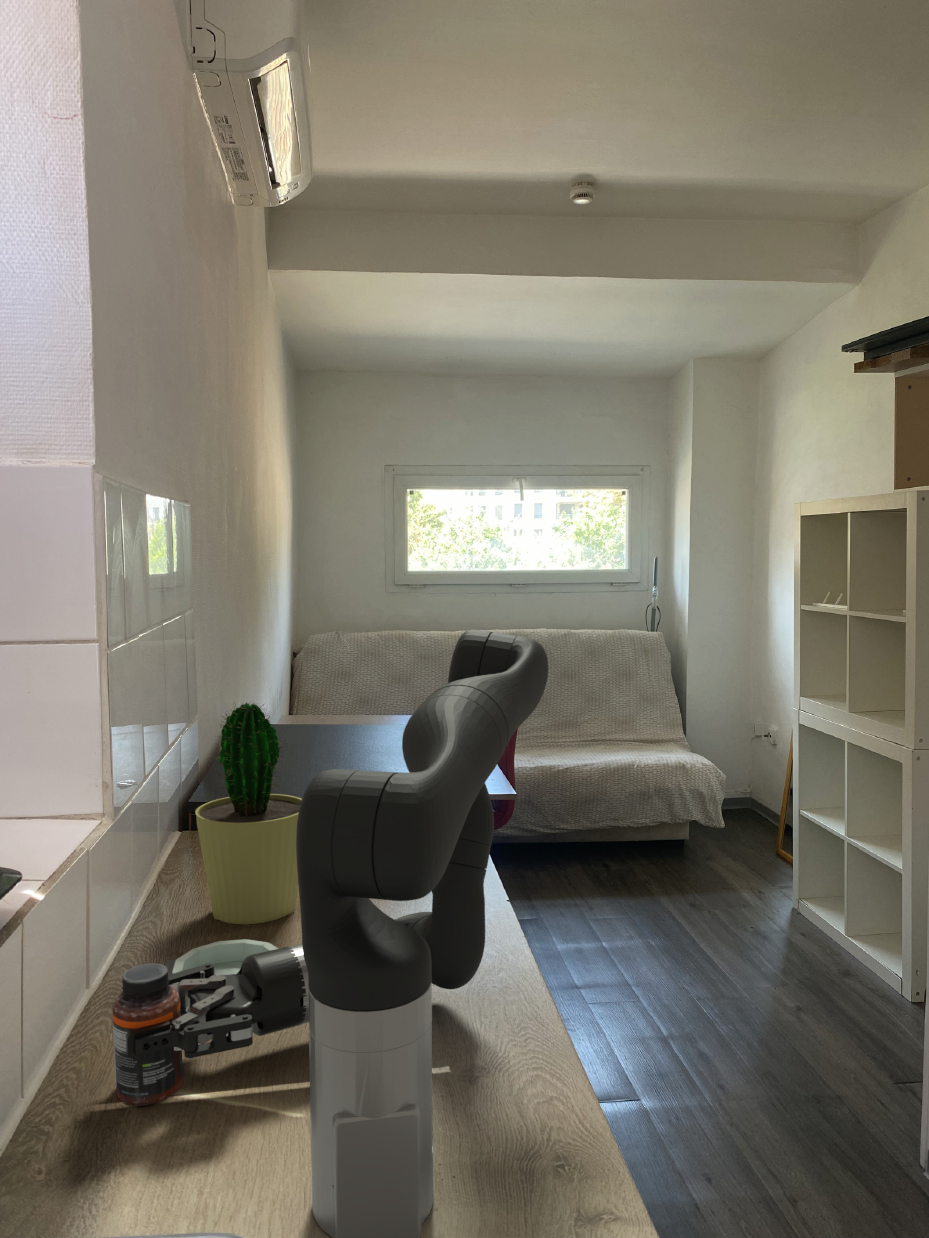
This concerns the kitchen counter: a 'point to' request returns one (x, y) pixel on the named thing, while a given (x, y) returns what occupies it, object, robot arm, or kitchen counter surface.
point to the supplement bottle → (141, 1007)
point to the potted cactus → (250, 827)
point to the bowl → (221, 956)
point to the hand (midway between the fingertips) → (120, 1028)
